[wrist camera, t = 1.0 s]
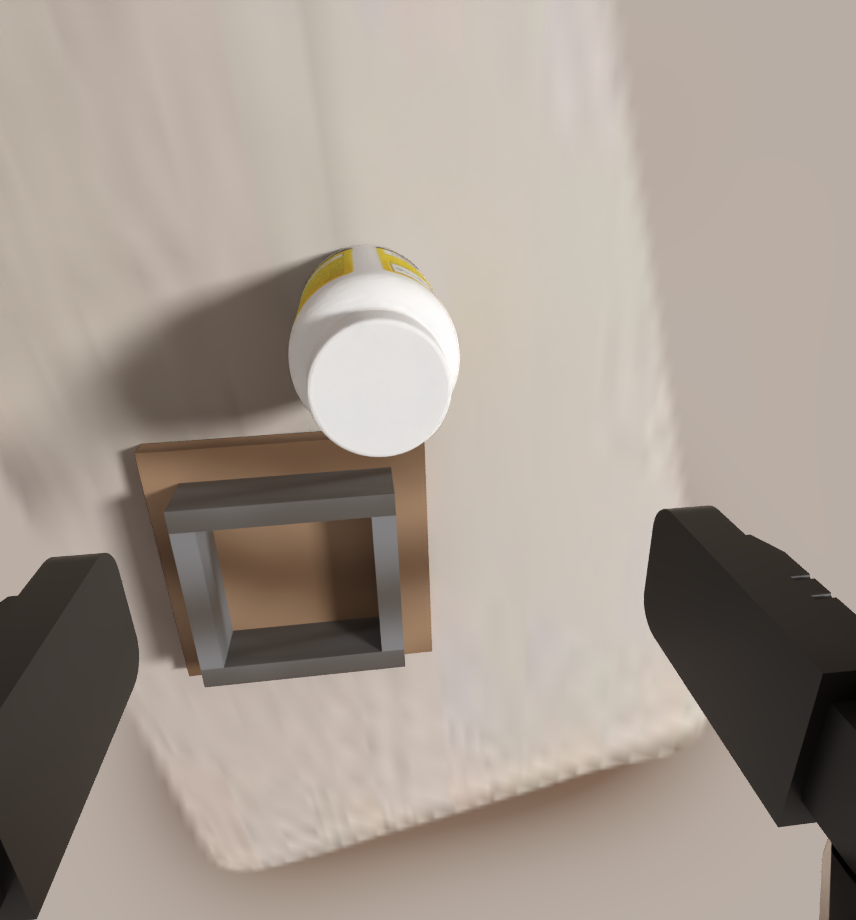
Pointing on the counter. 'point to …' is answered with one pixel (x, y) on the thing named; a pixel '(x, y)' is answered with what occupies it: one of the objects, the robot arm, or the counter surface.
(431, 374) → the supplement bottle
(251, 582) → the socket base
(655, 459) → the counter surface
